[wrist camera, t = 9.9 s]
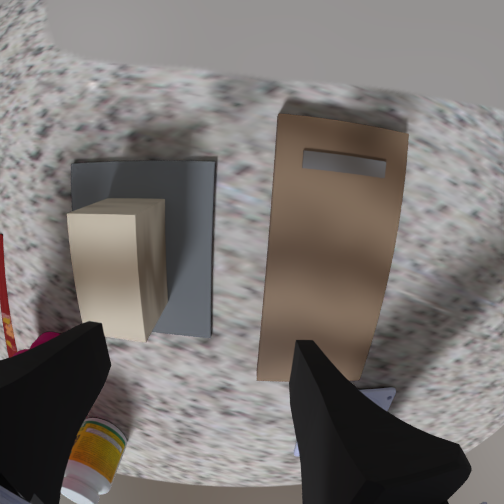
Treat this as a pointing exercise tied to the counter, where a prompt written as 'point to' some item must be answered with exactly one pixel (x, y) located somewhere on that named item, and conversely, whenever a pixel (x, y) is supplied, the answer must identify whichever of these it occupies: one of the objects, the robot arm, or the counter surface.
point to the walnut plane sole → (329, 240)
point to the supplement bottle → (93, 461)
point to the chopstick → (5, 306)
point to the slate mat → (166, 227)
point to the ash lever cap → (120, 264)
